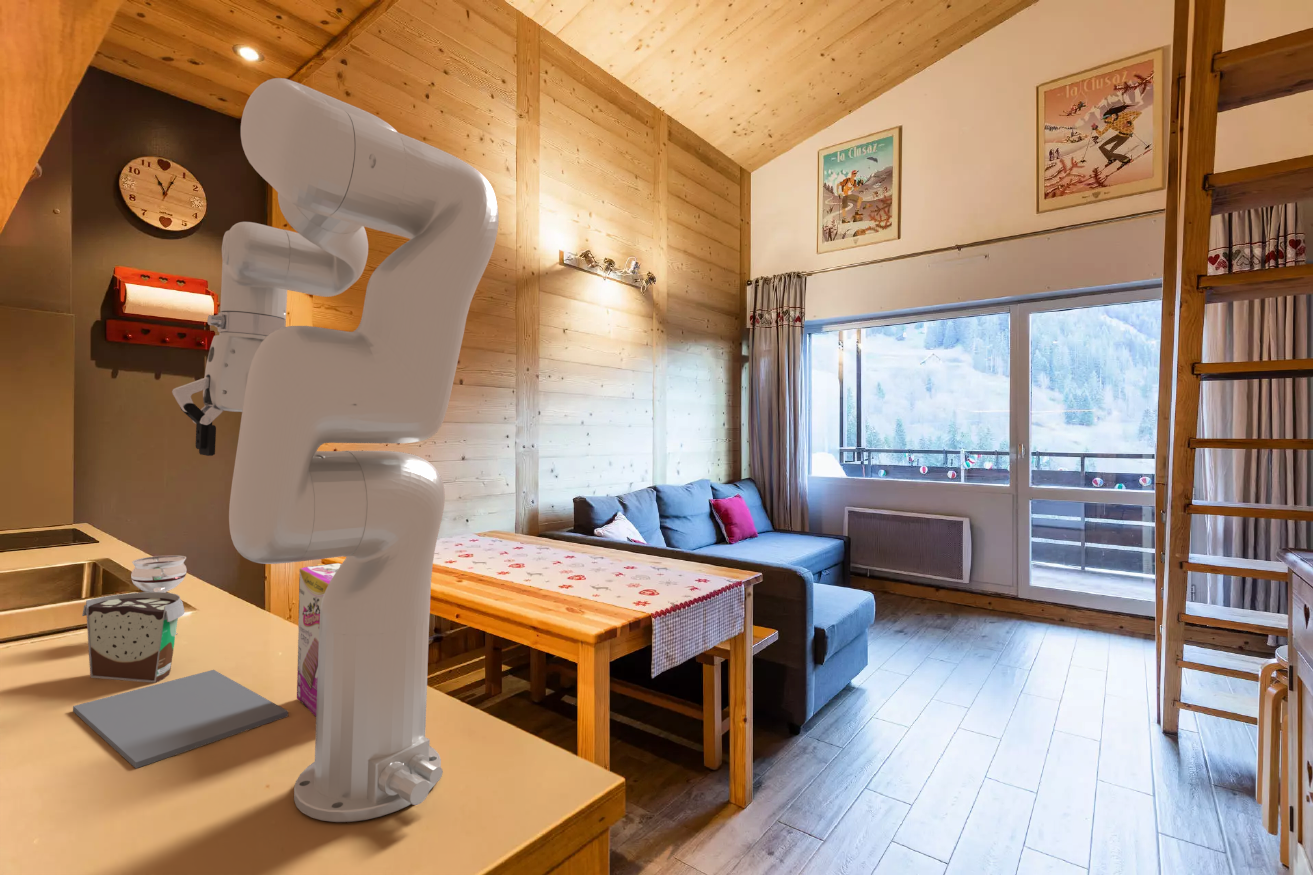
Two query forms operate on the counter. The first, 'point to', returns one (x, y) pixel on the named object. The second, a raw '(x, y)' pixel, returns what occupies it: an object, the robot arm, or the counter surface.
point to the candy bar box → (310, 629)
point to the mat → (176, 716)
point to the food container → (132, 635)
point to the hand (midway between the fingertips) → (247, 454)
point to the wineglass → (158, 573)
